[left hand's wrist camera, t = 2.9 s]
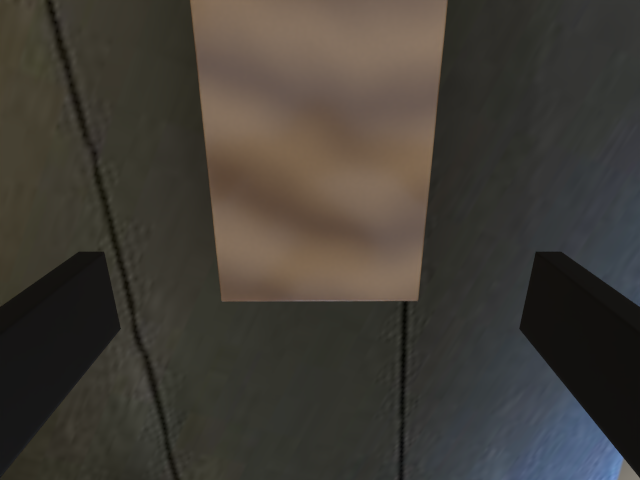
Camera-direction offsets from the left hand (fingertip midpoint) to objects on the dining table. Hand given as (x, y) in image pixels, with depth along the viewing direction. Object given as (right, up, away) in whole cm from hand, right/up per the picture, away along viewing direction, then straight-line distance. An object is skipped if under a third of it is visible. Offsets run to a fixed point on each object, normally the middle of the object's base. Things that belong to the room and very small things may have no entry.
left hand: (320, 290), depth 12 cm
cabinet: (0, +12, +13) cm, 18 cm away
